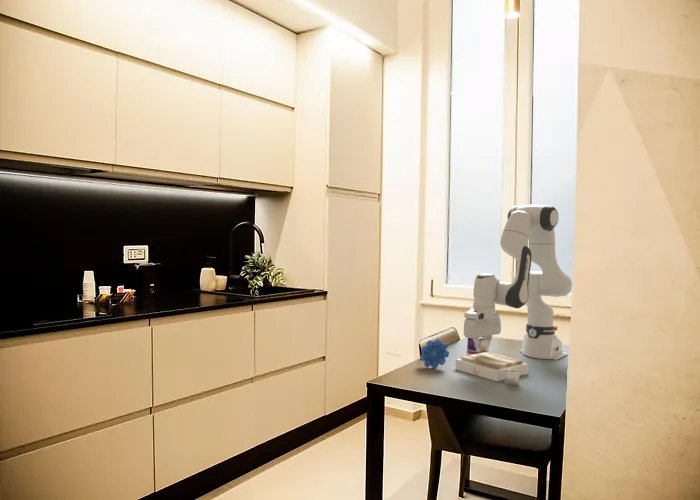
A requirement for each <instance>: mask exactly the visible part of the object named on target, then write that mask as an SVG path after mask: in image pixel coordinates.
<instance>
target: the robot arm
mask: <svg viewBox="0 0 700 500" xmlns="http://www.w3.org/2000/svg"><path fill="white" fill-rule="evenodd" d="M558 222H559V211H558V210H557V208H555V207H554V206H552V205H547V204H546V205H543V204H528V205H527V204H526V205H520V204H519V205H513V206H512V207H511V208H510V209H509V210H508V213H507V220H506V223H505V225H504V227H503V231H502V233H501V237H500V241H499V242H500V247H501V249H502V250H503V252H504V253H506V255H508V256H510V257H511V258H513V259H515V260H516V271H515V276H514V278H513V282H509V281H508V282H507V281H501V280H500V279H498V278H496V276H495V274H494V273H491V272H490V273H489V272H486V273H485V272H484V273H479V274H477V275H476V277H475V279H474V283H473V284H474V285H473V302H472V303H473V304H472V307H471V308H470V309H469V310H467V311H466V312H464V321H463V322H464V323H463V336H464V337H465V338H467V339H468V338H473V341H474V343H475V348H480V343H479V341H478V340H479V337H483V336H486V338H488V339H489V347H490V346H491V341H492V339H493V336H495V335H500V334H501V331H502V324H501V323H502V321H501V317H500V314H499V312H497V311H496V305H500V306H506V307H510V308H514V309H520V308H522V307H523V306H525V304H526V308H527V323H526V326H525V331H526V333H525V334H524V335H523V340H522V341H523V342H522V347H521V348H520V350H519V352H520V353H521V354H522V355H523V356H527V357H530V358H535V359H545V360H559V359H561V358H563V357H566V356H568V353H567V352H566V351H564V350H563V342H562V341H561V340H560V339H559V337H558V336H556V334H555V333H556V332H555V331H558V329H559V328H558V326H557V325H554V310H553V307H552V306H551V305H549V304H547V303H546V302H544V301H543V299H542V296H545V297H555V298H556V297H557V298H559V297H567V296H568V295H569V294H570V292H571V291H572V289H573V283H572V279H571V278H570V276H569V275H568V274H567V273H565V272H564V271H563V270H562V269H561V268H560V265H559V264H558V262H557V256H556V234H555V227H556V226H557V224H558ZM532 263H534V264H535V265H537V266H538V267H539V268H540V269H541V271H536V270H535V271H534V270H531V269H532V267H531V266H532Z"/></svg>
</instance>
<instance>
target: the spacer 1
mask: <svg viewBox="0 0 700 500" xmlns="http://www.w3.org/2000/svg"><path fill="white" fill-rule="evenodd" d="M478 341H479V343H480V348H476V351H478V352H489V349H490V348H489V347H490V346H489V339H488V338H487V337H486V338H483V337H479V340H478Z"/></svg>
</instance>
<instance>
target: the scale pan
mask: <svg viewBox="0 0 700 500" xmlns="http://www.w3.org/2000/svg"><path fill="white" fill-rule="evenodd" d="M460 358H461V360H465V361H469V362H472V363H476V364H480V365H483V366H487V367H491V368H494V369H500V368H504V367H509V366H513V365H518V364H522V363H524V362H523V360H522V359H517V358H514V357H509V356H505V355H502V354H498V353H494V352H489V351H488V352H484V353H478V354H473V355H463V356H460Z"/></svg>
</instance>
